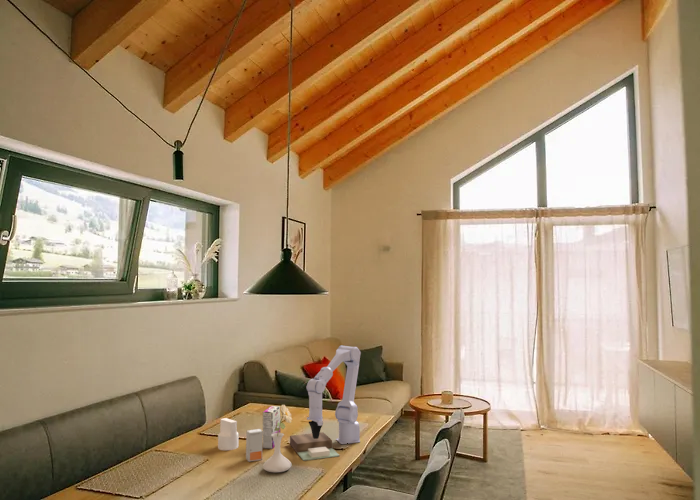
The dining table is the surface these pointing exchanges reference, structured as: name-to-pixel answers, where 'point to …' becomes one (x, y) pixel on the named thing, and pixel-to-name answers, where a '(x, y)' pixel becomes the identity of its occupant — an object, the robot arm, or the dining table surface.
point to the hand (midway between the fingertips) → (315, 438)
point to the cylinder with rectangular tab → (228, 435)
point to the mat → (306, 456)
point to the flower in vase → (277, 459)
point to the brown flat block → (309, 442)
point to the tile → (318, 452)
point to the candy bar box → (270, 425)
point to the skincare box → (254, 444)
